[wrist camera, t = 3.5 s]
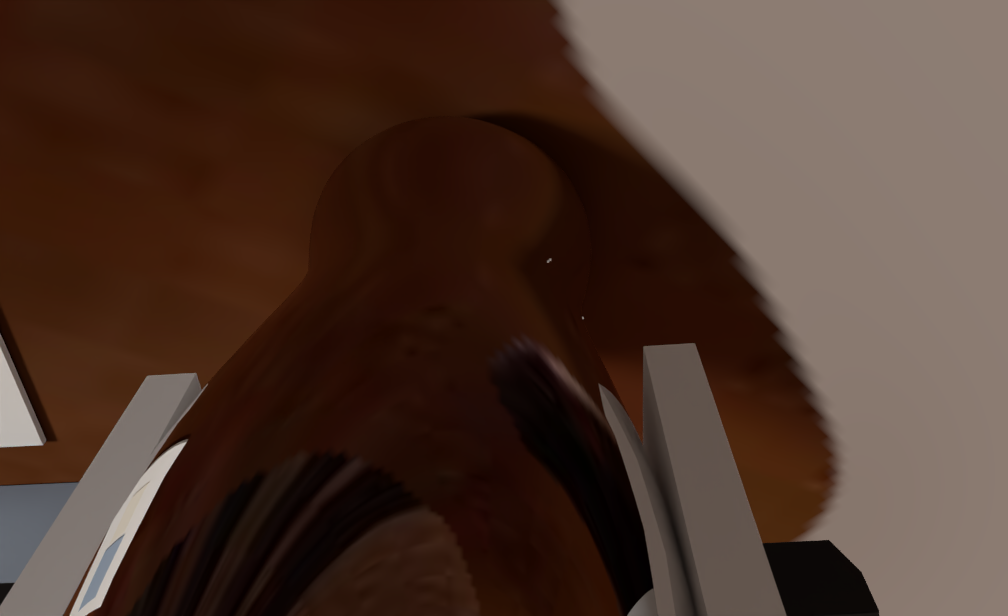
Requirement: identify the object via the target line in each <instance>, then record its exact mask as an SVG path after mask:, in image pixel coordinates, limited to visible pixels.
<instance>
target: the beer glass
mask: <svg viewBox="0 0 1008 616" xmlns="http://www.w3.org/2000/svg"><path fill="white" fill-rule="evenodd" d="M590 266H591V236H590V229H589V224H588V219H587V216H586V213H585V210H584V207H583V204H582V202H581V199H580V197H579V195H578V193H577V191H576V189H575V188H574V186H573V184H572V183H571V181H570V180H569V178H568V177H567V176H566V174H565V173H564V172H563V170H562V169H561V168H560V167H559V166H558V164H557V163H556V162H555V161H554V160H553V159H552V158H551V157H550V156H549V155H548V154H546V153H545V152H544V151H543V150H542V149H541V148H539V147H538V146H537V145H535V144H534V143H532V142H531V141H529V140H528V139H526V138H524V137H523V136H521V135H519V134H517V133H515V132H513V131H511V130H508V129H506V128H504V127H501V126H499V125H496V124H493V123H489V122H486V121H482V120H477V119H472V118H466V117H454V116H439V117H428V118H421V119H416V120H412V121H408V122H404V123H401V124H398V125H395V126H393V127H390V128H388V129H386V130H384V131H382V132H380V133H378V134H376V135H374V136H373V137H371V138H369V139H368V140H366V141H365V142H363V143H362V144H361V145H359V146H358V147H357V148H355V149H354V150H353V151H352V152H351V153H350V154H349V155H348V156H347V157H346V158H345V159H344V160H343V161H342V162H341V163H340V164H339V165H338V167H337V168H336V169H335V170H334V172H333V173H332V175H331V176H330V178H329V179H328V181H327V183H326V185H325V187H324V189H323V191H322V193H321V195H320V198H319V200H318V203H317V206H316V209H315V212H314V216H313V221H312V227H311V233H310V243H309V261H308V272H307V274H306V276H305V277H304V279H303V280H302V282H301V283H300V284H299V285H298V286H297V287H296V288H295V290H294V291H293V292H292V293H291V294H290V295H289V296H288V298H287V299H286V300H285V301H284V302H283V303H282V304H281V305H280V306H279V307H278V308H277V309H276V310H275V311H274V312H273V313H272V314H271V315H270V316H269V317H268V318H267V319H266V320H265V321H264V322H263V323H262V324H261V325H260V326H259V328H258V329H257V330H256V331H255V332H254V333H253V334H252V335H251V336H250V337H249V338H248V339H247V340H246V341H245V343H244V344H243V345H242V346H241V347H240V348H239V349H238V350H237V351H236V352H235V353H234V354H233V355H232V357H231V358H230V359H229V360H228V361H227V362H226V363H225V364H224V365H223V366H222V367H221V368H220V369H219V371H218V372H217V373H216V374H215V375H214V376H213V377H212V378H211V379H210V381H209V382H208V383H207V384H206V386H205V387H204V388H203V389H202V391H201V392H200V393H199V394H198V396H197V397H196V398H195V399H194V401H193V402H192V403H191V404H190V406H189V407H188V408H187V409H186V411H185V412H184V413H183V414H182V416H181V417H180V418H179V419H178V421H177V422H176V423H175V424H174V426H173V427H172V428H171V429H170V431H169V432H168V433H167V434H166V436H165V437H164V438H163V439H162V441H161V442H160V443H159V444H158V446H157V447H156V448H155V450H154V451H153V452H152V454H151V455H150V457H149V458H148V460H147V462H146V463H145V465H144V466H143V468H142V470H141V471H140V473H139V474H138V476H137V478H136V479H135V481H134V482H133V484H132V486H131V487H130V489H129V490H128V492H127V494H126V495H125V497H124V498H123V500H122V502H121V503H120V505H119V506H118V508H117V510H116V511H115V513H114V514H113V516H112V518H111V519H110V521H109V522H108V524H107V526H106V527H105V529H104V530H103V532H102V534H101V535H100V537H99V538H98V540H97V542H96V543H95V545H94V547H93V548H92V550H91V552H90V554H89V556H88V558H87V560H86V562H85V564H84V566H83V567H82V569H81V571H80V573H79V575H78V577H77V579H76V581H75V583H74V585H73V587H72V589H71V590H70V592H69V594H68V596H67V598H66V600H65V602H64V604H63V606H62V608H61V610H60V612H59V613H58V615H57V616H696V611H695V608H694V604H693V600H692V596H691V592H690V588H689V585H688V581H687V577H686V573H685V569H684V566H683V562H682V558H681V554H680V550H679V546H678V543H677V539H676V535H675V531H674V528H673V524H672V521H671V518H670V515H669V512H668V509H667V506H666V504H665V501H664V499H663V496H662V494H661V491H660V489H659V486H658V484H657V481H656V479H655V476H654V473H653V471H652V468H651V466H650V463H649V461H648V458H647V456H646V453H645V451H644V448H643V445H642V443H641V441H640V438H639V436H638V434H637V431H636V429H635V427H634V425H633V423H632V421H631V419H630V417H629V415H628V413H627V411H626V409H625V406H624V404H623V402H622V400H621V398H620V396H619V394H618V392H617V390H616V388H615V386H614V384H613V381H612V379H611V377H610V375H609V373H608V371H607V369H606V368H605V366H604V364H603V362H602V360H601V358H600V356H599V354H598V352H597V350H596V348H595V346H594V344H593V342H592V340H591V338H590V336H589V333H588V331H587V329H586V327H585V324H584V322H583V319H584V317H583V316H582V315H581V310H582V305H583V301H584V297H585V293H586V289H587V284H588V280H589V273H590Z"/></svg>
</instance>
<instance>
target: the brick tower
mask: <svg viewBox="0 0 1008 616" xmlns="http://www.w3.org/2000/svg"><path fill="white" fill-rule="evenodd" d="M78 483H79V482H77V483H56V484H34V485H12V486H0V583H15V582H16V580H17V579H18V577H19V576H20V574H21V573H22V571H23V569H24V568H25V566H26V565H27V563H28V562H29V560H30V558H31V557H32V555H33V554H34V552H35V551H36V549H37V548H38V546H39V544H40V543H41V541H42V540H43V538H44V537H45V535H46V533H47V532H48V530H49V529H50V527H51V526H52V524H53V522H54V521H55V519H56V518H57V516H58V515H59V513H60V512H61V510H62V508H63V507H64V505H65V504H66V502H67V501H68V499H69V497H70V496H71V494H72V493H73V491H74V490H75V488H76V487H77V485H78Z"/></svg>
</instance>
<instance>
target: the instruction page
mask: <svg viewBox="0 0 1008 616" xmlns="http://www.w3.org/2000/svg"><path fill="white" fill-rule="evenodd" d="M45 442H46V438H45V436H44V433H43V431H42V429H41V426H40V424H39V422H38V419H37V417H36V415H35V412H34V410H33V408H32V405H31V403H30V401H29V398H28V396H27V394H26V392H25V389H24V387H23V385H22V382H21V380H20V378H19V375H18V373H17V371H16V368H15V366H14V364H13V361H12V359H11V357H10V354H9V352H8V350H7V347H6V345H5V343H4V340H3V338H2V336H1V333H0V447H14V446H35V445H43V444H44V443H45Z"/></svg>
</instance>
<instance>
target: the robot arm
mask: <svg viewBox="0 0 1008 616" xmlns="http://www.w3.org/2000/svg"><path fill="white" fill-rule="evenodd" d="M201 391H202V390H201V387H200V384H199V381H198V377H197V374H196V373H187V374H171V375H154V376H147V377H146V379H145V380H144V382H143V383H142V385H141V386H140V388H139V390H138V391H137V393H136V394H135V396H134V397H133V399H132V401H131V402H130V404H129V405H128V407H127V408H126V410H125V411H124V413H123V415H122V416H121V418H120V419H119V421H118V422H117V424H116V426H115V427H114V429H113V430H112V432H111V433H110V435H109V436H108V438H107V440H106V441H105V443H104V444H103V446H102V447H101V449H100V451H99V452H98V454H97V455H96V457H95V458H94V460H93V462H92V463H91V465H90V466H89V468H88V469H87V471H86V472H85V474H84V476H83V477H82V479H81V480H80V482H79V483H78V485H77V487H76V488H75V490H74V491H73V493H72V494H71V496H70V497H69V499H68V501H67V502H66V504H65V505H64V507H63V508H62V510H61V512H60V513H59V515H58V516H57V518H56V519H55V521H54V522H53V524H52V526H51V527H50V529H49V530H48V532H47V533H46V535H45V537H44V538H43V540H42V541H41V543H40V544H39V546H38V548H37V549H36V551H35V552H34V554H33V555H32V557H31V558H30V560H29V562H28V563H27V565H26V566H25V568H24V569H23V571H22V573H21V574H20V576H19V577H18V579H17V580H16V582H15V583H0V616H57V615H58V613H59V612H60V610H61V608H62V606H63V604H64V602H65V600H66V598H67V596H68V594H69V592H70V590H71V589H72V587H73V585H74V583H75V581H76V579H77V577H78V575H79V573H80V571H81V569H82V567H83V566H84V564H85V562H86V560H87V558H88V556H89V554H90V552H91V550H92V548H93V547H94V545H95V543H96V542H97V540H98V538H99V537H100V535H101V534H102V532H103V530H104V529H105V527H106V526H107V524H108V522H109V521H110V519H111V518H112V516H113V514H114V513H115V511H116V510H117V508H118V506H119V505H120V503H121V502H122V500H123V498H124V497H125V495H126V494H127V492H128V490H129V489H130V487H131V486H132V484H133V482H134V481H135V479H136V478H137V476H138V474H139V473H140V471H141V470H142V468H143V466H144V465H145V463H146V462H147V460H148V458H149V457H150V455H151V454H152V452H153V451H154V450H155V448H156V447H157V446H158V444H159V443H160V442H161V441H162V439H163V438H164V437H165V436H166V434H167V433H168V432H169V431H170V429H171V428H172V427H173V426H174V424H175V423H176V422H177V421H178V419H179V418H180V417H181V416H182V414H183V413H184V412H185V411H186V409H187V408H188V407H189V406H190V404H191V403H192V402H193V401H194V399H195V398H196V397H197V396H198V394H199V393H200V392H201ZM643 448H644V451H645V453H646V456H647V458H648V461H649V463H650V466H651V468H652V471H653V473H654V476H655V479H656V481H657V484H658V486H659V489H660V491H661V494H662V496H663V499H664V501H665V504H666V506H667V509H668V512H669V515H670V518H671V521H672V524H673V528H674V531H675V535H676V539H677V543H678V546H679V550H680V554H681V558H682V562H683V566H684V569H685V573H686V577H687V581H688V585H689V588H690V592H691V596H692V600H693V604H694V608H695V611H696V616H879V610H878V608H877V605H876V603H875V602H874V599H873V597H872V594H871V592H870V590H869V588H868V586H867V583H866V581H865V579H864V577H863V575H862V572H861V571H860V570H859V569H858V568H857V567H856V566H855V565H854V564H852V562H850V560H848V559H847V558H846V557H845V556H844V555H843V554H842V553H841V552H840V551H839V550H838V549H837V548H836V547H835V546H834V545H833V544H832V543H831V542H830V541H829V540H822V541H802V542H781V543H762V541H761V538H760V535H759V532H758V529H757V526H756V523H755V520H754V517H753V514H752V511H751V508H750V505H749V502H748V500H747V497H746V494H745V491H744V488H743V485H742V482H741V479H740V476H739V473H738V470H737V467H736V464H735V461H734V458H733V455H732V452H731V449H730V446H729V443H728V440H727V437H726V434H725V431H724V428H723V425H722V422H721V419H720V416H719V413H718V410H717V407H716V404H715V401H714V398H713V395H712V392H711V389H710V387H709V384H708V381H707V378H706V375H705V372H704V369H703V366H702V363H701V360H700V357H699V354H698V351H697V348H696V345H695V343H689V344H672V345H656V346H643Z"/></svg>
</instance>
